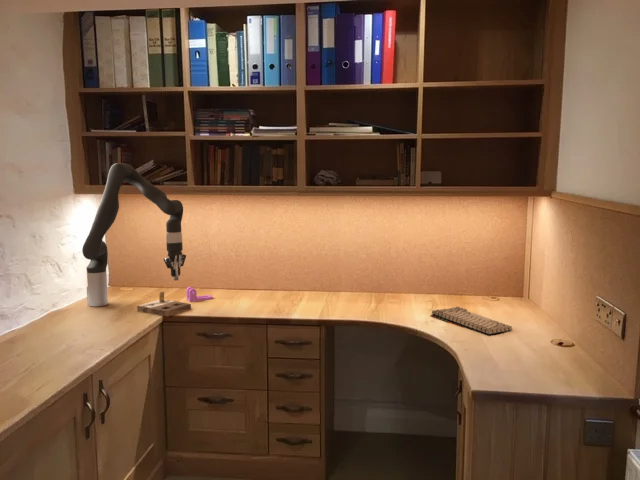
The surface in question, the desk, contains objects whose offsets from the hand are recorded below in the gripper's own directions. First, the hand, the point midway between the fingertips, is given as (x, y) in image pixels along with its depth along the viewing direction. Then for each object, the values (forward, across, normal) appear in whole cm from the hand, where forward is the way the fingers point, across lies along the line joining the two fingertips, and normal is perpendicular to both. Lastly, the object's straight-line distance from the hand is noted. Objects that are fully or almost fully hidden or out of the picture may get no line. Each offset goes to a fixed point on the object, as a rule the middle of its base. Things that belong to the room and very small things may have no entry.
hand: (175, 275), depth 263 cm
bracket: (+17, -21, -4) cm, 28 cm away
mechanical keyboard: (+18, -49, +132) cm, 142 cm away
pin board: (+17, +4, -5) cm, 18 cm away
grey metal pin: (+2, 0, 0) cm, 2 cm away
